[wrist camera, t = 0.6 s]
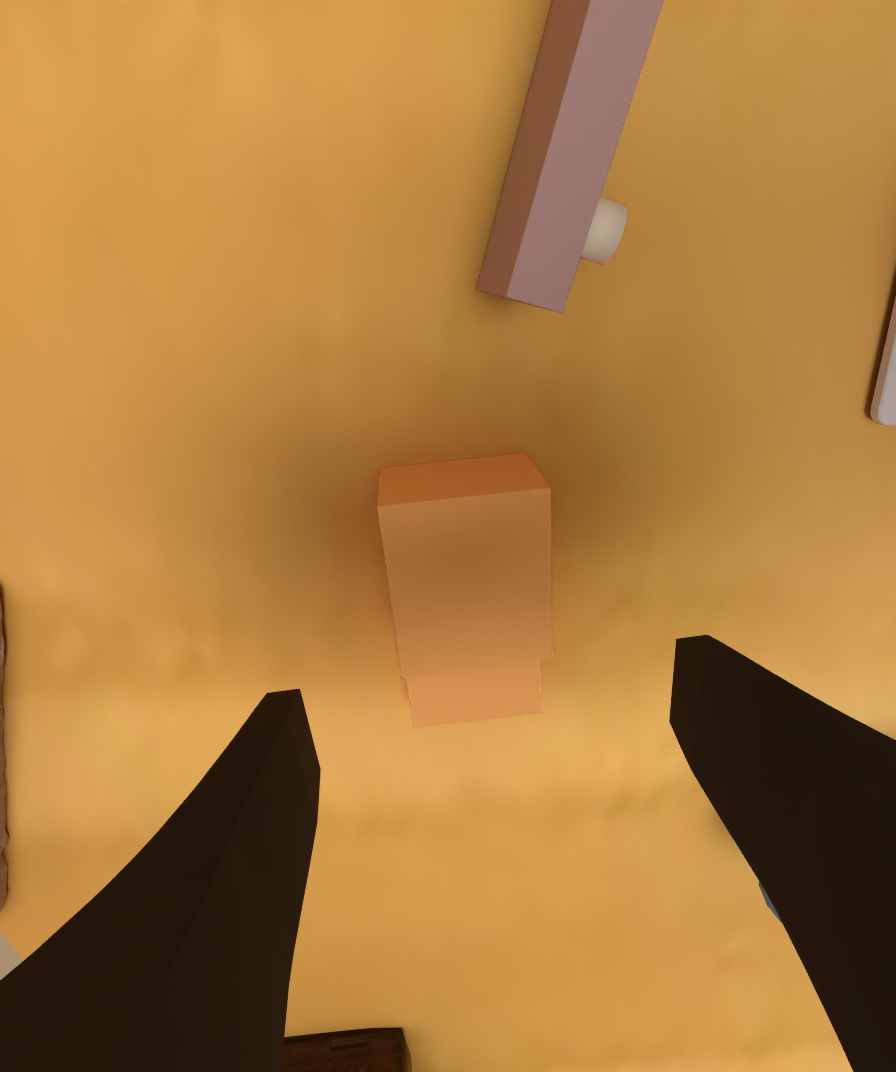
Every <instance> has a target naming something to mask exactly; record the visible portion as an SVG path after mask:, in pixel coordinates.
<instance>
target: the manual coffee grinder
mask: <svg viewBox="0 0 896 1072" xmlns="http://www.w3.org/2000/svg"><path fill="white" fill-rule="evenodd" d="M281 1072H412V1068H411V1059H410V1054H409V1051H408V1048H407V1045H406V1042H405V1039H404V1036H403V1033H402V1030H401V1028H368V1029H357V1030H348V1031H339V1032H330V1033H321V1034H311V1035H302V1036H293V1037H285V1038H284V1043H283V1054H282V1066H281Z"/></svg>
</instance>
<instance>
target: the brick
mask: <svg viewBox="0 0 896 1072" xmlns="http://www.w3.org/2000/svg"><path fill="white" fill-rule="evenodd" d="M3 666H4V637H3V631H2V607H1V600H0V912H1V910H2V908H3V903H4V900H5V898H6V896H7V893H6V879H7V870H8V866H7V863H6V861H5V859H4V857H3V855H2V854H1V853H2V851H3V849H4V848H5V847H6V845H7V844H8V840H9V836H8V834H7V832H6V830H5V826H6V791H7V782H6V779H5V775H4V769H5V755H4V745H3V741H2V739H3V734H4V730H3V721H4V712H3V706H2V698H1V689H2V684H3V679H4V668H3Z"/></svg>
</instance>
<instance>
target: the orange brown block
mask: <svg viewBox="0 0 896 1072" xmlns="http://www.w3.org/2000/svg"><path fill="white" fill-rule="evenodd" d="M377 510H378V517H379V524H380V530H381V537H382V544H383V551H384V558H385V565H386V572H387V579H388V586H389V592H390V599H391V606H392V613H393V620H394V627H395V634H396V641H397V648H398V655H399V661H400V668H401V675H402V679H406V681H407V688H408V695H409V702H410V709H411V716H412V723H413V729H414V728H422V727H430V726H438V725H446V724H454V723H462V722H470V721H478V720H486V719H495V718H503V717H511V716H519V715H527V714H535V713H541V670H540V662H547V661H552V554H551V487H550V486H549V484H548V483H547V482H546V480H545V479H544V477H543V476H542V475H541V473H540V472H539V470H538V469H537V468H536V466H535V465H534V463H533V462H532V461H531V459H530V458H529V456H528V455H527V454H526V453H516V454H507V455H498V456H488V457H479V458H470V459H460V460H451V461H442V462H432V463H423V464H414V465H405V466H395V467H386V468H380V474H379V487H378V500H377Z"/></svg>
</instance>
